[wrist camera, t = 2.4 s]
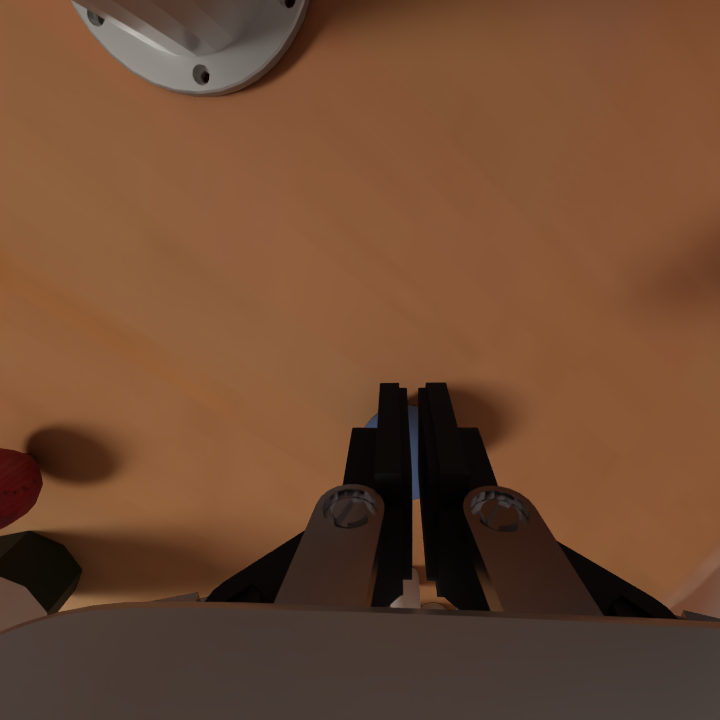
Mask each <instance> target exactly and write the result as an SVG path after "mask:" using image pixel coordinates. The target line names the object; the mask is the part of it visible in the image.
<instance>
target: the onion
mask: <svg viewBox="0 0 720 720" xmlns="http://www.w3.org/2000/svg"><path fill="white" fill-rule="evenodd" d="M42 485H43V482H42V476H41V472H40V469H39V466H38V465H37V463H36V462H35V459H34V458H33V456H32V455H30V454H27V453H21V452H18V451H15V450H8V449H2V448H0V529H2V528H4V527H6V526H8V525H9V524H11V523H13V522H14V521H16V520H17V519H19V518H20V517H22V516H23V515H25V514H26V513H28V511H29V510H30V509H31V508H32V507H33V506H34V505H35V503H36V501H37V499H38V496H39V493H40V491H41V488H42Z"/></svg>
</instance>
